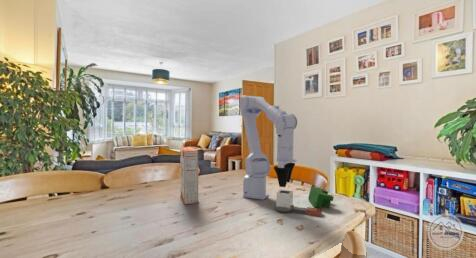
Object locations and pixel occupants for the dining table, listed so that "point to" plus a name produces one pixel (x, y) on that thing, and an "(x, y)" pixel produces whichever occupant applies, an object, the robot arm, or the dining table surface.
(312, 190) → the clamp
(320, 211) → the ratchet
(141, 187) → the dining table surface
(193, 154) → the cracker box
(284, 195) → the socket
